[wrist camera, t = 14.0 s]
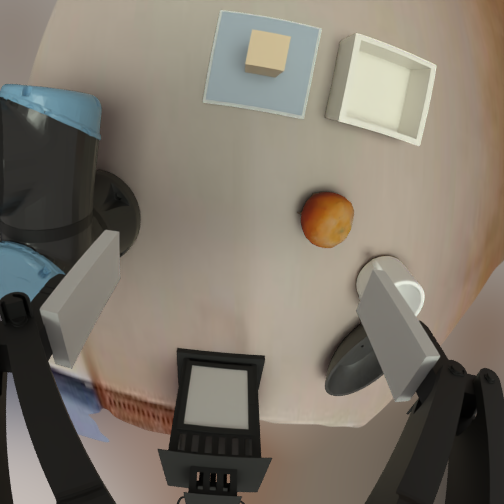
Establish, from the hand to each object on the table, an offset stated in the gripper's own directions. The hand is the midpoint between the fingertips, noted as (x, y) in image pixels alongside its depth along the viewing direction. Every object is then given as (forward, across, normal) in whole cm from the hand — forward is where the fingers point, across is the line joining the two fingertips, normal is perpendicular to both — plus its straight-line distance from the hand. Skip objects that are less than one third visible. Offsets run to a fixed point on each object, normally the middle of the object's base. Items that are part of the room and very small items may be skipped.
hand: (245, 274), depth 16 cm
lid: (+31, 0, +14) cm, 34 cm away
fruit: (+32, +13, -6) cm, 35 cm away
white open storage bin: (+32, +16, +14) cm, 38 cm away
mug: (+32, +26, -15) cm, 44 cm away
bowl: (+32, +29, -31) cm, 53 cm away
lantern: (+32, +2, -46) cm, 56 cm away
